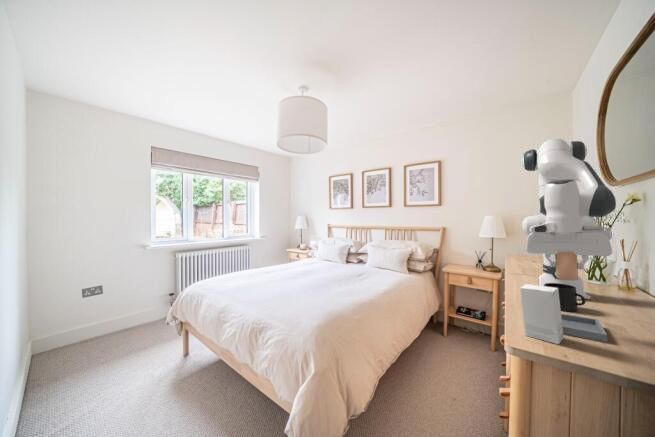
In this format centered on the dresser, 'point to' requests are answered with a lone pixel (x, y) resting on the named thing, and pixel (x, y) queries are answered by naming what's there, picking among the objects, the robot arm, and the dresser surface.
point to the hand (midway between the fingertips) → (566, 267)
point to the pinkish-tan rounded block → (566, 266)
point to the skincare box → (542, 313)
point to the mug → (567, 296)
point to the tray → (583, 328)
